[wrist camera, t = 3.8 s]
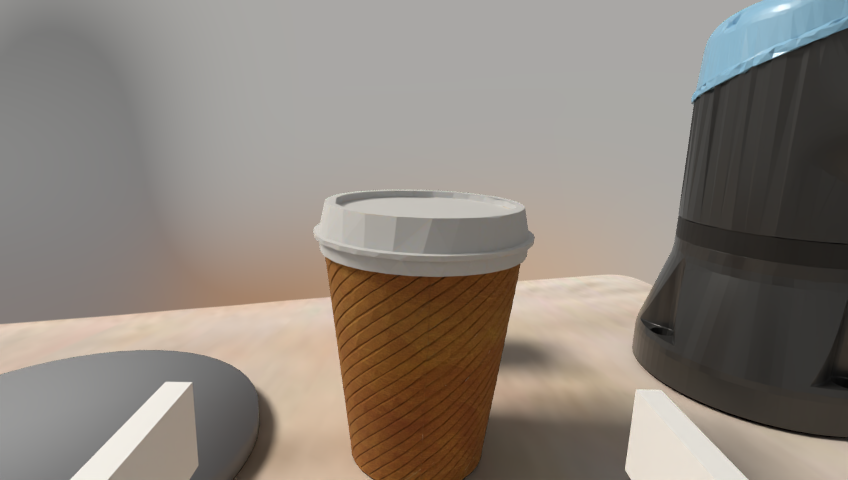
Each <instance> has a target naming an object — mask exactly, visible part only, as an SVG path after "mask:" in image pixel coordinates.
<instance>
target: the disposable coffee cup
mask: <svg viewBox="0 0 848 480" xmlns="http://www.w3.org/2000/svg"><path fill="white" fill-rule="evenodd" d="M313 232H314V237H315V239H316V240H318V241H319V244H320V251H321V252H322V254H323V255H324V256H325V259H326V264H327V271H328V279H329V286H330V293H331V300H332V308H333V315H334V323H335V330H336V337H337V344H338V352H339V359H340V366H341V374H342V380H343V388H344V395H345V402H346V410H347V417H348V424H349V432H350V439H351V448H352V456H353V458H354V460H355V462H356V464H357V465H358V466H359V468H360V469H361V470H362V471H363V472H364V473H366V474H367V475H369V476H370V477H371V478H373V479H375V480H462V479H463V478H465V477H466V476H467V475H469V474H470V473H471V472H472V471H473V470H474V469H475V468H476V467H477V465H478V463H479V461H480V458H481V453H482V447H483V443H484V437H485V433H486V428H487V423H488V419H489V413H490V409H491V404H492V399H493V395H494V390H495V386H496V381H497V375H498V371H499V365H500V361H501V356H502V351H503V347H504V342H505V337H506V333H507V327H508V322H509V317H510V313H511V309H512V304H513V298H514V294H515V289H516V284H517V280H518V274H519V268H520V263H522V262H523V261H524V260H525V258H526V257H527V250H528V249H529V248H530V247H531V246H532V245H533V243H534V235H533V234H532V233H531V232H530V231H528V226H527V219H526V212H525V207H524V205H522V204H521V203H519V202H516V201H513V200H509V199H505V198H500V197H495V196H488V195H481V194H473V193H464V192H451V191H434V190H372V191H360V192H349V193H343V194H338V195H333V196H331V197H329V198H327V199H326V200H325V203H324V208H323V212H322V217H321V221H320V224H318V225H317V226H315V228H314V230H313Z"/></svg>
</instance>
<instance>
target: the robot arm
mask: <svg viewBox="0 0 848 480" xmlns="http://www.w3.org/2000/svg"><path fill="white" fill-rule="evenodd" d="M692 104H694V109H693V116H692V123H691V130H690V137H689V144H688V151H687V158H686V165H685V173H684V180H683V187H682V194H681V201H680V208H679V217H678V224H677V230H676V236H675V242H674V246H673V249H672V252H671V254H670V255H669V257H668V259H667V261H666V263H665V265H664V267H663V268H662V271H661V272H660V274H659V276H658V278H657V280H656V282H655V284H654V285H653V287H652V289H651V291H650V293H649V295H648V297H647V299H646V300H645V302H644V304H643V306H642V308H641V310H640V312H639V314H638V316H637V319H636V323H635V331H634V338H633V346H632V348H633V353H634V355H635V357H636V359H637V360H638V362H639V363H640V364H641V365H642V366H643V367H644V368H645V369H646V370H647V371H648V372H649V373H651V374H652V375H653V376H654V377H656V378H657V379H659V380H660V381H662V382H663V383H665V384H666V385H668V386H670V387H671V388H673V389H675V390H677V391H679V392H681V393H683V394H684V395H686V396H689V397H691V398H693V399H695V400H697V401H699V402H702V403H704V404H706V405H709V406H711V407H714V408H717V409H719V410H722V411H725V412H727V413H730V414H733V415H736V416H739V417H743V418H746V419H749V420H752V421H756V422H760V423H763V424H767V425H771V426H775V427H780V428H784V429H789V430H794V431H799V432H805V433H811V434H818V435H826V436H837V437H848V0H763V1H761V2H758V3H756V4H753V5H751V6H749V7H747V8H745V9H743V10H741V11H739V12H738V13H736V14H734V15H733V16H731V17H729V18H728V19H726V20H725V21H724V22H723V23H721V24H720V25H719V26H718V27H717V28H716V29H715V31H714V32H713V33H712V35H711V36H710V38H709V40H708V42H707V44H706V47H705V51H704V56H703V60H702V65H701V70H700V75H699V80H698V84H697V89H696V92H694V94H693V96H692ZM197 467H198V452H197V438H196V425H195V411H194V398H193V384H192V382H165V383H164V384H163V385H162V386H161V387H160V388H159V389H158V390H157V391H156V392H155V393H154V394H153V395H152V396H151V397H150V398H149V399H148V400H147V401H146V402H145V403H144V404H143V405H142V406H141V407H140V408H139V410H138V411H137V412H136V413H135V414H134V415H133V416H132V417H131V418H130V419H129V420H128V421H127V422H126V423H125V424H124V425H123V426H122V427H121V428H120V429H119V430H118V431H117V432H116V433H115V434H114V435H113V436H112V437H111V438H110V439H109V440H108V441H107V442H106V443H105V444H104V445H103V446H102V447H101V448H100V449H99V450H98V451H97V453H96V454H95V455H94V456H93V457H92V458H91V459H90V460H89V461H88V462H87V463H86V464H85V465H84V466H83V467H82V468H81V469H80V470H79V471H78V472H77V473H76V474H75V475H74V476H73V477H72V478H71V479H70V480H190V478H191V476H192V475H193V473H194V472H195V470H196V468H197ZM625 471H626V472H627V474H628V475H629V477H630V479H631V480H748V479H747V478H746V477H745V476H744V475H743V474H742V473H741V471H740V470H739V469H738V468H737V467H736V466H735V465H734V464H733V463H732V462H731V461H730V460H729V459H728V458H727V457H726V456H725V455H724V454H723V453H722V452H721V451H720V450H719V449H718V448H717V447H716V446H715V445H714V444H713V443H712V442H711V441H710V440H709V439H708V438H707V437H706V436H705V434H704V433H703V432H702V431H701V430H700V429H699V428H698V427H697V426H696V425H695V424H694V423H693V422H692V421H691V420H690V419H689V418H688V417H687V416H686V415H685V414H684V413H683V412H682V411H681V410H680V409H679V408H678V407H677V406H676V405H675V404H674V403H673V402H672V401H671V400H670V399H669V398H668V396H667V395H666V394H665V393H664V392H663V391H662V390H644V389H636V393H635V400H634V407H633V414H632V422H631V429H630V436H629V444H628V451H627V458H626V465H625Z"/></svg>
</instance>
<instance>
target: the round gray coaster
mask: <svg viewBox="0 0 848 480" xmlns="http://www.w3.org/2000/svg"><path fill="white" fill-rule="evenodd" d="M165 382H192V384H193V398H194V411H195V425H196V438H197V452H198V467H197V468H196V470H195V472H194V473H193V475H192V476H191V478H190V480H232V479H233V478H234V477H235V476H236V475H237V473H238V472H239V471H240V470H241V468H242V467H243V465H244V464H245V462H246V460H247V459H248V457H249V455H250V454H251V452H252V449H253V447H254V444H255V442H256V439H257V435H258V430H259V406H258V395H257V393H256V390H255V387H254V385H253V384H252V383H251V381H250V380H249V378H248V377H247V376H246V375H244V374H243V373H242V372H241V371H240V370H238V369H237V368H235V367H233V366H232V365H230V364H227V363H225V362H223V361H220V360H218V359H214V358H211V357H208V356H204V355H199V354H194V353H187V352H178V351H164V350H135V351H118V352H109V353H99V354H92V355H85V356H78V357H73V358H67V359H62V360H57V361H52V362H47V363H43V364H39V365H34V366H30V367H26V368H22V369H19V370H15V371H11V372H8V373H4V374H1V375H0V480H70V479H71V478H72V477H73V476H74V475H75V474H76V473H77V472H78V471H79V470H80V469H81V468H82V467H83V466H84V465H85V464H86V463H87V462H88V461H89V460H90V459H91V458H92V457H93V456H94V455H95V454H96V453H97V451H98V450H99V449H100V448H101V447H102V446H103V445H104V444H105V443H106V442H107V441H108V440H109V439H110V438H111V437H112V436H113V435H114V434H115V433H116V432H117V431H118V430H119V429H120V428H121V427H122V426H123V425H124V424H125V423H126V422H127V421H128V420H129V419H130V418H131V417H132V416H133V415H134V414H135V413H136V412H137V411H138V410H139V408H140V407H141V406H142V405H143V404H144V403H145V402H146V401H147V400H148V399H149V398H150V397H151V396H152V395H153V394H154V393H155V392H156V391H157V390H158V389H159V388H160V387H161V386H162V385H163V384H164V383H165Z"/></svg>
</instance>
